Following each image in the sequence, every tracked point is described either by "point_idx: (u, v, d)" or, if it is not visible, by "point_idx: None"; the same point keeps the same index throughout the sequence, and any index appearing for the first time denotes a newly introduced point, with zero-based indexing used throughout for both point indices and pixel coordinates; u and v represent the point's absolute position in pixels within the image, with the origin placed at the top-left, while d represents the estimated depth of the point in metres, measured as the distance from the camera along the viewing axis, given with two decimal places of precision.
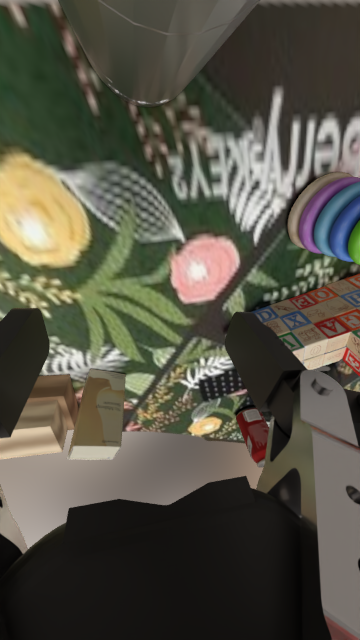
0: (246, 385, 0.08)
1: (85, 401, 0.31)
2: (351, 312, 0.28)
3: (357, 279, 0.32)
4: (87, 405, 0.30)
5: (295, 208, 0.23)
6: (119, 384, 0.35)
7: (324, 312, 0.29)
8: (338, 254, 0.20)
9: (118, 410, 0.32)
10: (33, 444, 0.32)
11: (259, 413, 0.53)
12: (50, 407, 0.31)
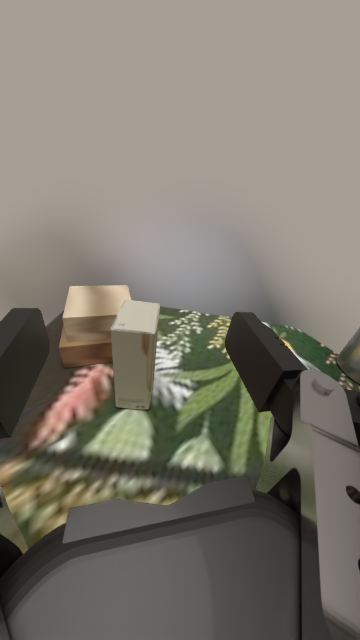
0: (246, 385, 0.08)
1: None
2: None
3: None
4: (156, 342, 0.27)
5: None
6: (151, 391, 0.26)
7: None
8: None
9: (153, 366, 0.23)
10: (96, 303, 0.30)
11: None
12: None
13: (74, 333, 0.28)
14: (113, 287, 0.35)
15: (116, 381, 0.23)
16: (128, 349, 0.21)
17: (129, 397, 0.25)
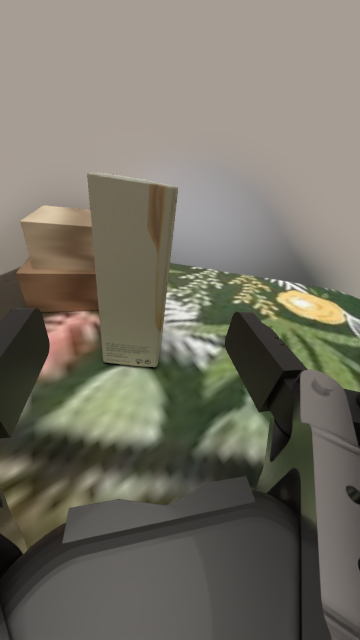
0: (246, 385, 0.08)
1: None
2: None
3: None
4: None
5: None
6: (161, 335, 0.16)
7: None
8: None
9: (166, 281, 0.13)
10: (78, 218, 0.20)
11: None
12: None
13: (42, 254, 0.18)
14: None
15: (102, 308, 0.13)
16: (123, 230, 0.11)
17: (124, 343, 0.15)
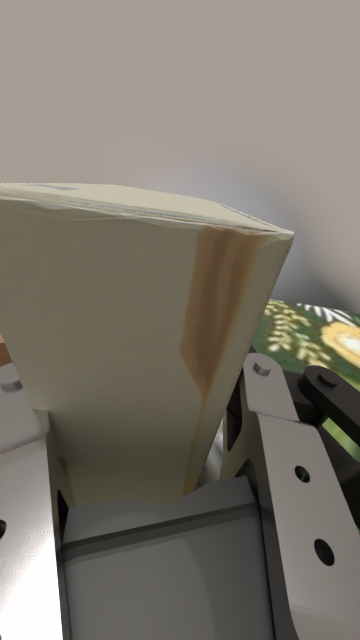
0: None
1: None
2: None
3: None
4: None
5: None
6: None
7: None
8: None
9: None
10: None
11: None
12: None
13: None
14: None
15: None
16: (104, 357, 0.03)
17: None
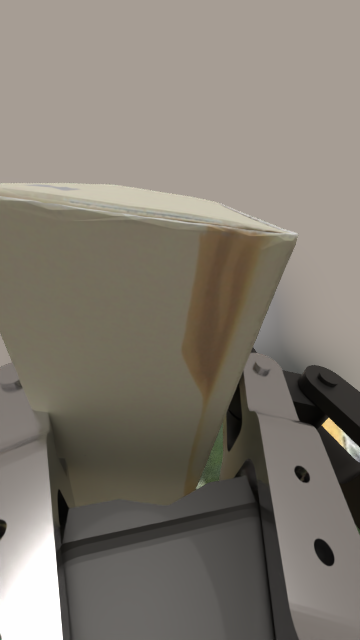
0: None
1: None
2: None
3: None
4: None
5: None
6: None
7: None
8: None
9: None
10: None
11: None
12: None
13: None
14: None
15: None
16: (105, 359, 0.03)
17: None
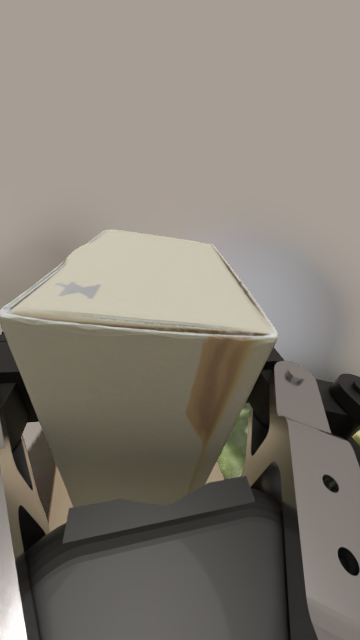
0: None
1: None
2: None
3: None
4: None
5: None
6: None
7: None
8: None
9: None
10: None
11: None
12: None
13: None
14: None
15: (79, 505, 0.07)
16: (122, 420, 0.04)
17: None
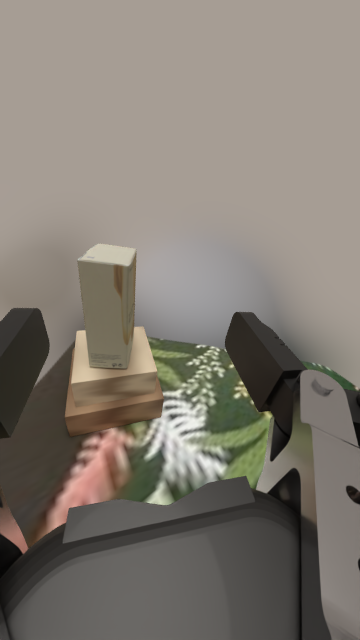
0: (246, 385, 0.08)
1: (134, 299, 0.26)
2: None
3: None
4: (134, 296, 0.25)
5: None
6: (129, 347, 0.23)
7: None
8: None
9: (129, 313, 0.21)
10: None
11: None
12: None
13: (84, 397, 0.23)
14: None
15: (88, 331, 0.21)
16: (99, 287, 0.18)
17: (103, 353, 0.22)
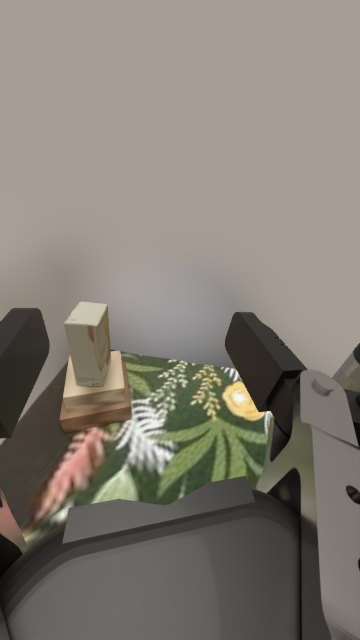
0: (246, 385, 0.08)
1: None
2: None
3: None
4: (108, 334, 0.35)
5: None
6: (103, 371, 0.33)
7: None
8: None
9: (101, 351, 0.31)
10: None
11: None
12: None
13: (73, 406, 0.33)
14: None
15: (73, 363, 0.31)
16: (79, 338, 0.28)
17: (85, 376, 0.32)
